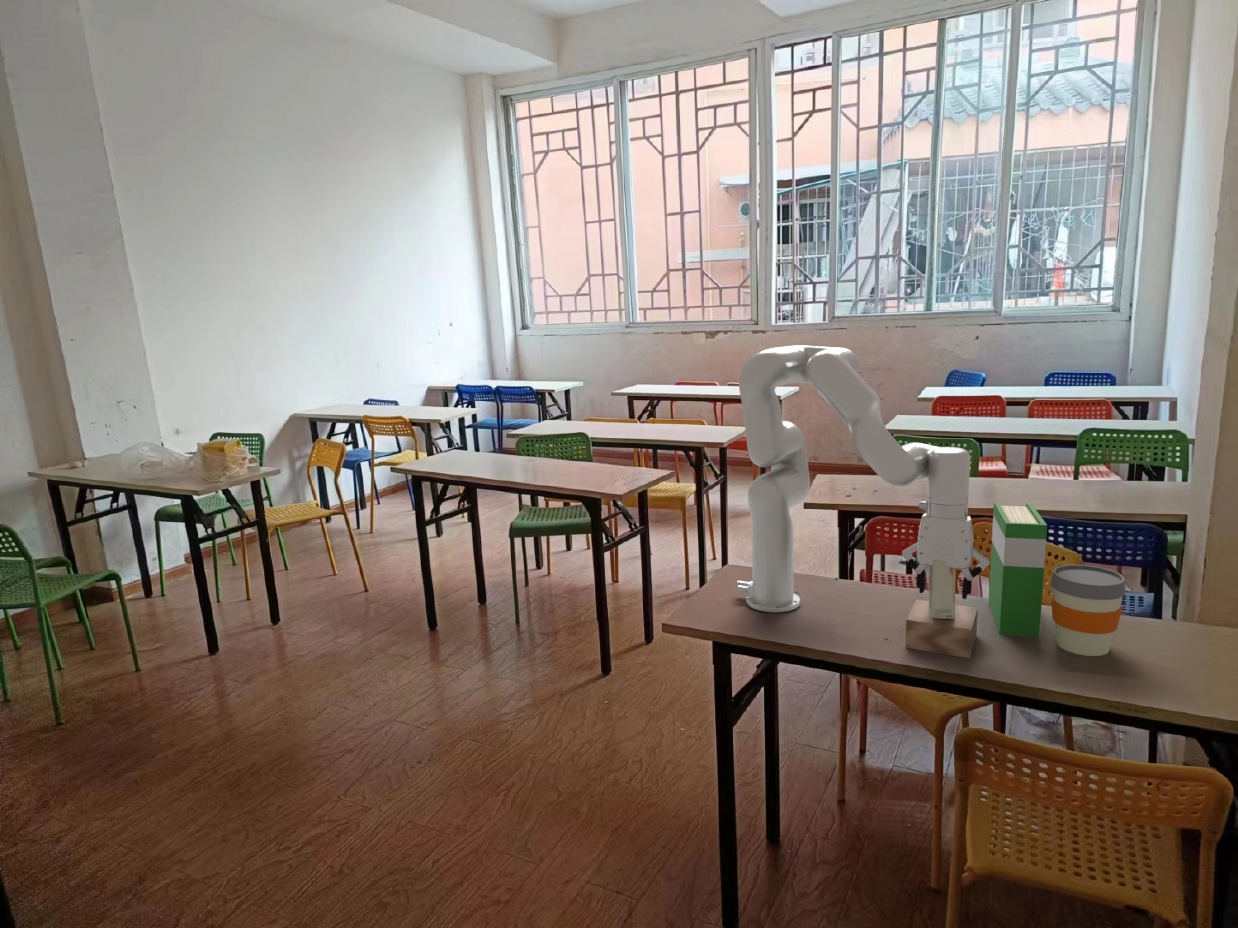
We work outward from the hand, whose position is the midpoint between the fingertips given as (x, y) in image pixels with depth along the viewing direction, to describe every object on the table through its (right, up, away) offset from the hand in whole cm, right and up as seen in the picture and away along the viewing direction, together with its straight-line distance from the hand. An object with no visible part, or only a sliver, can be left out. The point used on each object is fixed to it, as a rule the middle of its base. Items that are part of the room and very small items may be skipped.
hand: (943, 593), depth 156 cm
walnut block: (+1, -10, +2) cm, 10 cm away
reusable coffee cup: (+27, -10, -3) cm, 29 cm away
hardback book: (+20, -8, +11) cm, 24 cm away
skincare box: (0, -4, +1) cm, 5 cm away
